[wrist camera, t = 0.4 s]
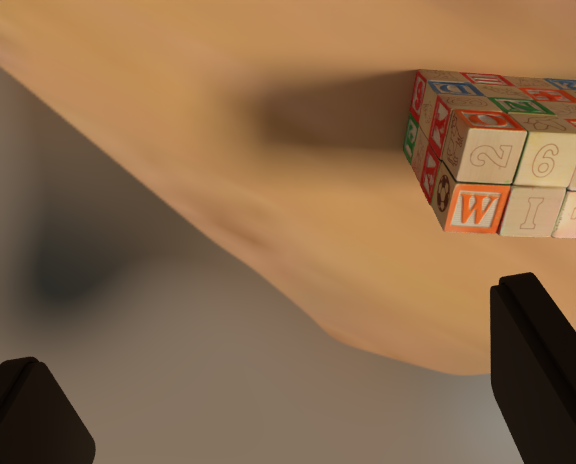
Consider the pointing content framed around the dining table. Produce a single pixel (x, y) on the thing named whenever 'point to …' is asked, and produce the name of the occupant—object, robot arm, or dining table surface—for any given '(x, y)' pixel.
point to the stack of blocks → (495, 152)
